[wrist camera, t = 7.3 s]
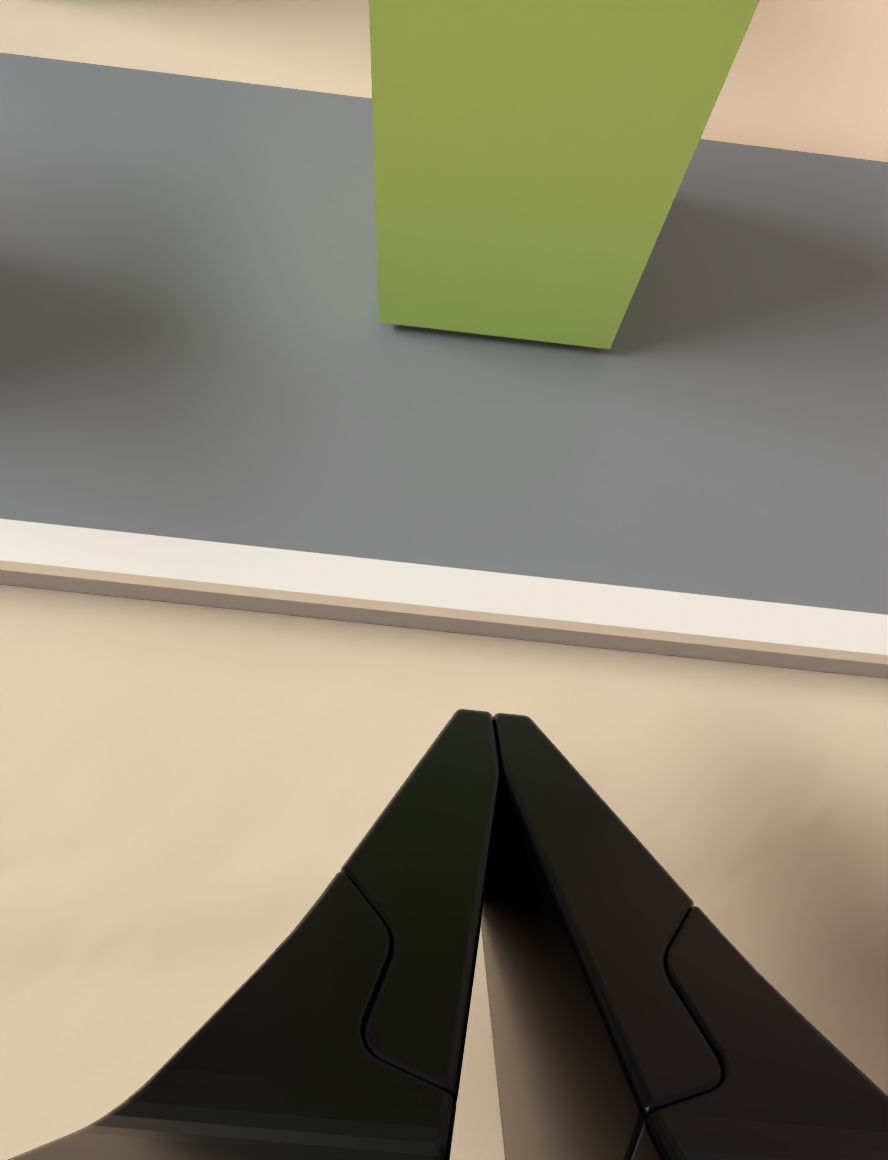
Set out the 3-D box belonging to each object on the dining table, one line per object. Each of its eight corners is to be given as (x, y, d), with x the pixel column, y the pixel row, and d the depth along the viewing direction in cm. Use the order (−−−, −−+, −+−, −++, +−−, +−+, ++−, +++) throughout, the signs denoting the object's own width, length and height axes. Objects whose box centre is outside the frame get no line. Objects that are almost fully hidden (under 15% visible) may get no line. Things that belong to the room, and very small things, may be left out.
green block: (610, 349, 17) (783, -56, 9) (378, 322, 17) (366, -110, 9) (614, 171, 19) (764, -294, 11) (404, 145, 18) (411, -344, 11)
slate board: (1408, 733, 17) (1510, 721, 15) (-543, 526, 16) (-644, 491, 14) (1254, 241, 21) (1322, 194, 19) (-280, 53, 20) (-336, -12, 18)
